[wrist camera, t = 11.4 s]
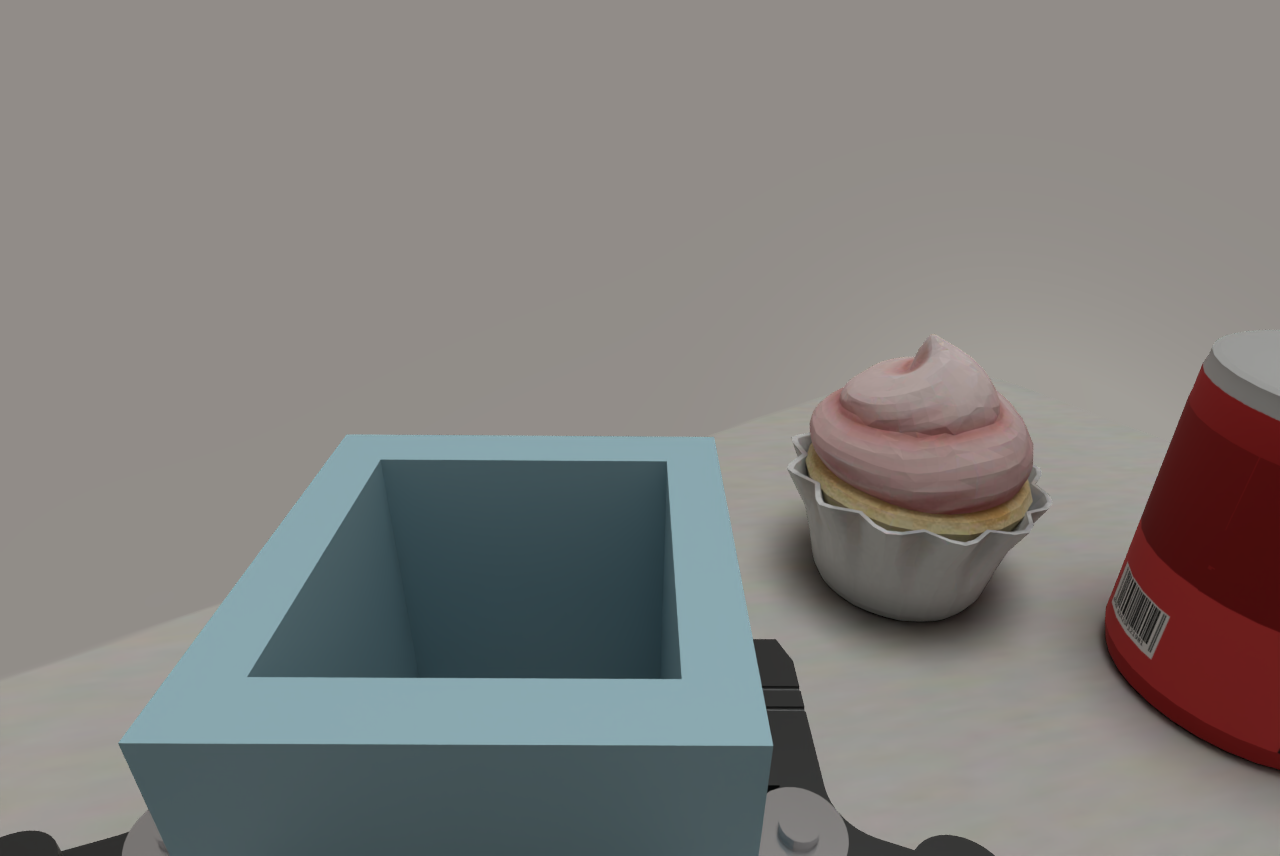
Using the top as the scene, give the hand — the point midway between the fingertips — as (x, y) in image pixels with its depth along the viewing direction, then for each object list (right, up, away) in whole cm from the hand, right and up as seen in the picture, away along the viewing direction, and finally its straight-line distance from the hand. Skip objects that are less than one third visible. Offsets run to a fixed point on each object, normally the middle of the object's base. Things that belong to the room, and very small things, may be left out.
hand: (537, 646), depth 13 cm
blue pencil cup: (0, -6, +1) cm, 6 cm away
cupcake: (+12, -2, +16) cm, 20 cm away
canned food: (+22, -5, +11) cm, 25 cm away
